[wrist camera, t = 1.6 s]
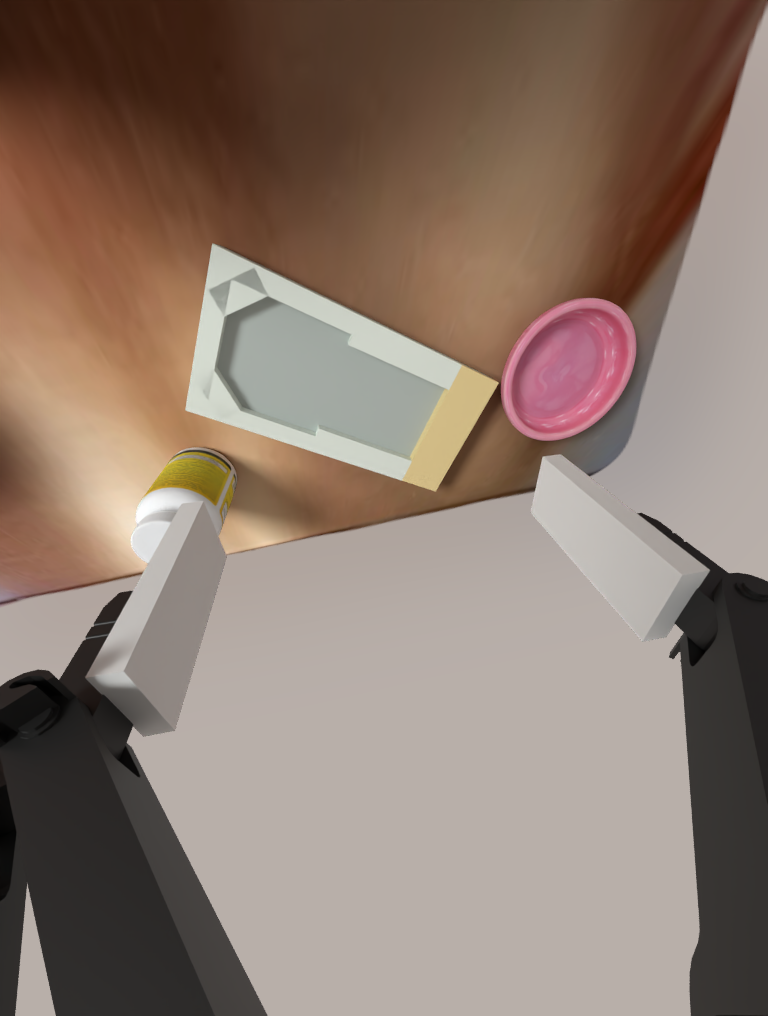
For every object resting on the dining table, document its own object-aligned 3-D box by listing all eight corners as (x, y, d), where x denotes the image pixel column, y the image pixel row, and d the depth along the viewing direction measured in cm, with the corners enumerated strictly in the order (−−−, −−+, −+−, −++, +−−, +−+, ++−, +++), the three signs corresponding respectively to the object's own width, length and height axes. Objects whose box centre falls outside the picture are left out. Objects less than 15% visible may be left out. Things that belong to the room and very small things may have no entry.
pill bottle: (155, 455, 33) (96, 526, 24) (219, 437, 33) (183, 501, 24) (191, 507, 37) (151, 586, 28) (249, 491, 37) (227, 564, 28)
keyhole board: (193, 400, 31) (185, 410, 29) (220, 245, 25) (212, 243, 23) (429, 479, 39) (435, 491, 37) (487, 375, 34) (498, 382, 32)
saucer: (496, 306, 31) (512, 310, 28) (630, 286, 32) (658, 288, 29) (487, 438, 38) (500, 451, 35) (597, 419, 39) (617, 430, 36)
